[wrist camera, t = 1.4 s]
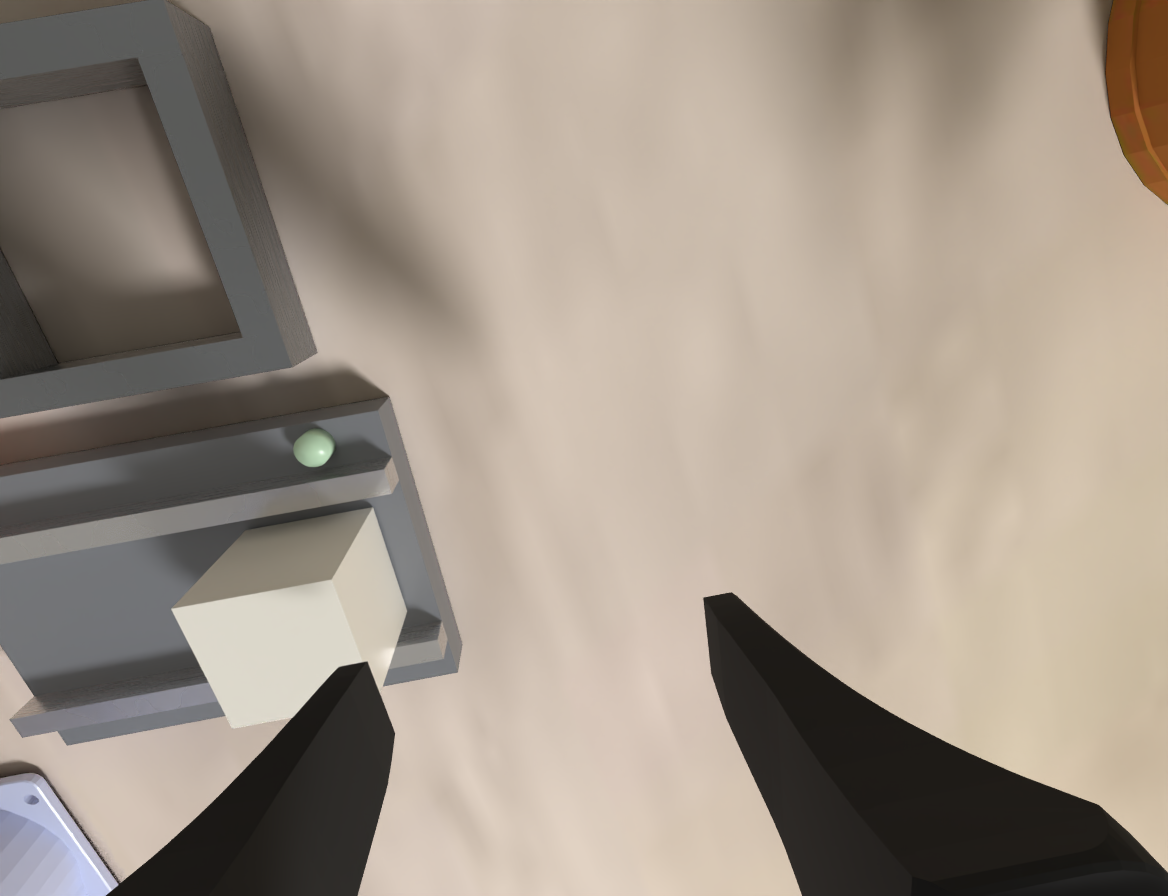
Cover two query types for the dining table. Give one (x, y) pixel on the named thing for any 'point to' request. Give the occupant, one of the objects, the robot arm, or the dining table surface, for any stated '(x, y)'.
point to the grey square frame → (213, 180)
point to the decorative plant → (1140, 87)
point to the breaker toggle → (293, 613)
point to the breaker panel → (188, 558)
